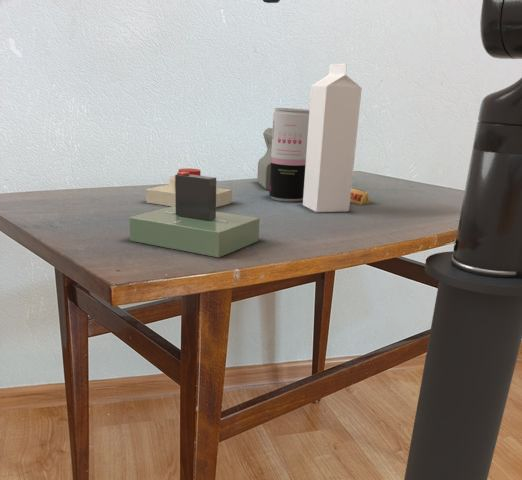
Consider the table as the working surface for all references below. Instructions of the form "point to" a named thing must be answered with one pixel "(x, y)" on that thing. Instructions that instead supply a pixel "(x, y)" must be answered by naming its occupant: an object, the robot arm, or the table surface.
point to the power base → (167, 195)
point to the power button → (191, 171)
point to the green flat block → (194, 232)
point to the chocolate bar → (359, 197)
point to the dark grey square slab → (195, 196)
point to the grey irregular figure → (265, 161)
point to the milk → (331, 141)
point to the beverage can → (288, 154)
